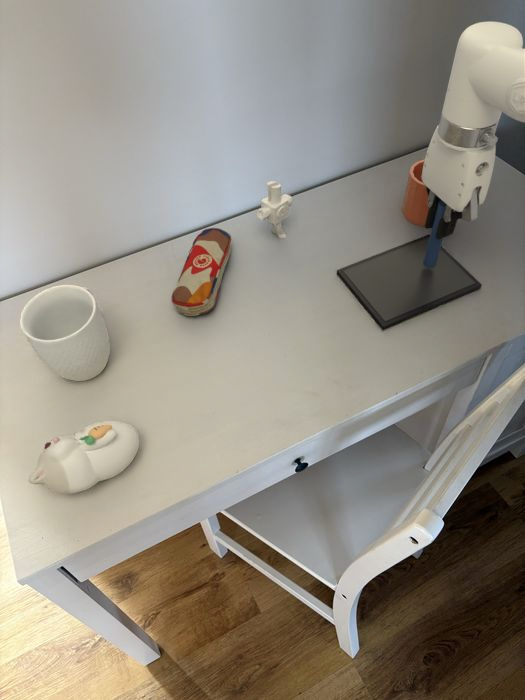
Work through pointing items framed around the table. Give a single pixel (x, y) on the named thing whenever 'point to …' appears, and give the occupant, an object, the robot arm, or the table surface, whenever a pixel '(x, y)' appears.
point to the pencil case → (202, 273)
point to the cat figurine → (86, 457)
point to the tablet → (406, 282)
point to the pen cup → (416, 196)
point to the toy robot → (275, 208)
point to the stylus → (434, 238)
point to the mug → (67, 331)
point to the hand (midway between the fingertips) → (438, 230)
